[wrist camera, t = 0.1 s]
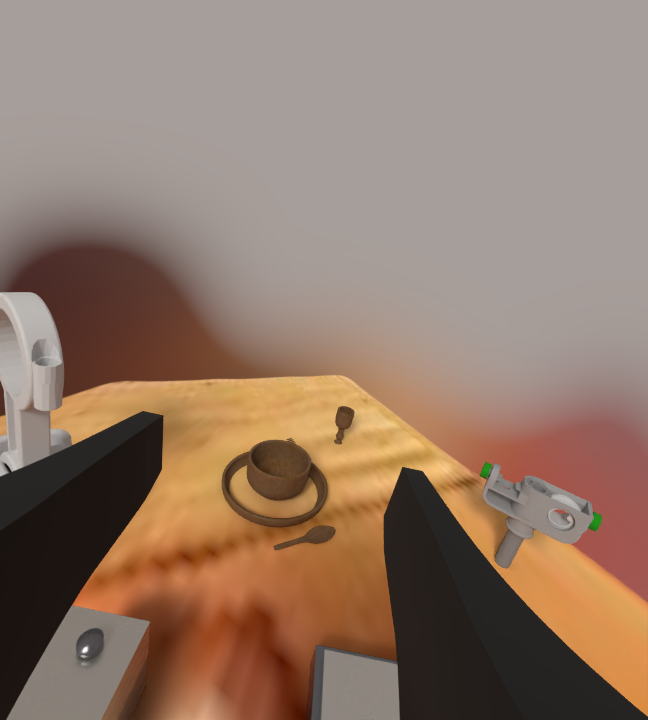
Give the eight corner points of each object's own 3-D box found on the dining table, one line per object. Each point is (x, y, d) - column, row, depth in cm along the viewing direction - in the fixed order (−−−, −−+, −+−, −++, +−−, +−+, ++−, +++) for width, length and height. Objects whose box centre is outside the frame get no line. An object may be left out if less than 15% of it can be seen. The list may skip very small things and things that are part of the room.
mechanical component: (457, 526, 42) (488, 454, 38) (555, 582, 37) (600, 505, 34) (451, 542, 39) (484, 466, 36) (556, 603, 35) (604, 523, 31)
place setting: (205, 451, 46) (210, 411, 44) (338, 436, 56) (347, 403, 54) (243, 570, 32) (252, 518, 30) (412, 521, 42) (428, 480, 40)
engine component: (75, 471, 37) (-64, 520, 30) (69, 274, 31) (-114, 269, 23) (128, 534, 32) (-26, 616, 24) (135, 312, 25) (-76, 323, 17)
